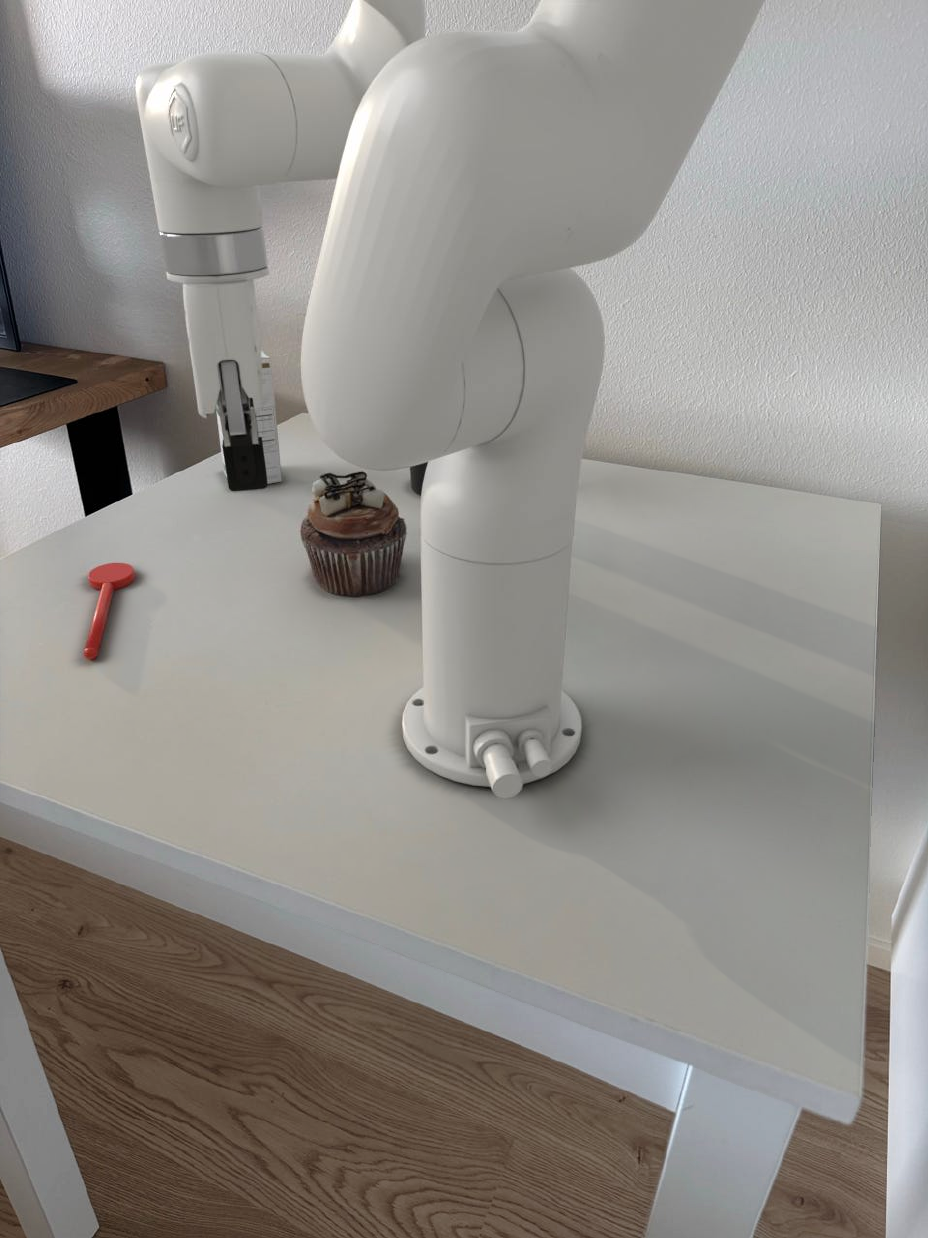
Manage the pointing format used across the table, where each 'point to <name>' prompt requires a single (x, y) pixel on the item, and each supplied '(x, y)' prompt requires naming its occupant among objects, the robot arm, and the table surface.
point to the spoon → (105, 598)
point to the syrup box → (265, 424)
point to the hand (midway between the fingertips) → (248, 486)
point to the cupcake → (353, 536)
